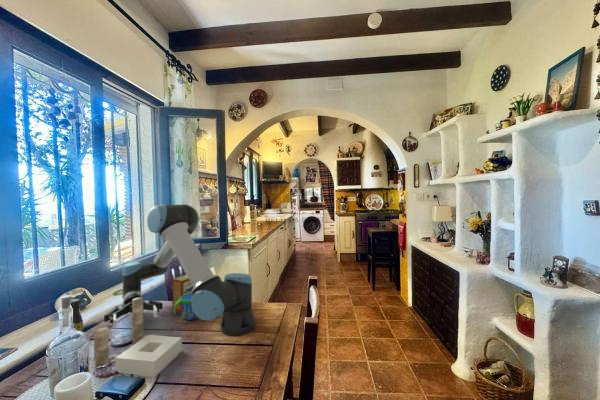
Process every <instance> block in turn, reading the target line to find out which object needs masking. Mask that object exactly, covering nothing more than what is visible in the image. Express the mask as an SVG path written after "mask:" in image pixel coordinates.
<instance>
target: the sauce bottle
mask: <svg viewBox="0 0 600 400" xmlns="http://www.w3.org/2000/svg"><path fill="white" fill-rule="evenodd" d="M70 300H71V306H72V308H73V323H74V328H75V329H76V330H78V331H81V332H83V333H84V321H83V317H82V314H81V313H80V304H81V299H80V298H74V299H73V298H72V299H70Z"/></svg>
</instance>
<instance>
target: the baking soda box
mask: <svg viewBox="0 0 600 400" xmlns="http://www.w3.org/2000/svg"><path fill="white" fill-rule="evenodd" d="M192 290H193V285H192V284H191V282H190V280H189V278H188V276H187V275H186V274H185V275H180V276H178V277H174V278H173V279H172V311H174V305H175V303H176V302H177V301H178V300H179V299H180V297H181V296H182V295H185V294H188V293H192ZM175 309H176V312H180V313H182V307H181V304H180V302H179V303H178V304H177V305H176V308H175Z"/></svg>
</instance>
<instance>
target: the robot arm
mask: <svg viewBox="0 0 600 400" xmlns="http://www.w3.org/2000/svg"><path fill="white" fill-rule="evenodd" d="M146 222H147V228H148V231H150V232H151V233H153V234H158V235H159V236H160V238H161V239H162V240H163V241H164V243H163V245H162V246H161V248H160V250H159V251H158V253H157V254H156V255H155V257H154V259H153V260H152V261H151V262H149V263H144V264H142V263H141V262H139V261H135V262H134V261H133V262H128V263H125V264H124V265H123V267H122V274H121V275H122V294H121V295H122V297H121V298H122V306H119V305H115V306H114V307H113V308H112V309H111V310H110V311H108V312H107V313H105V315H104V316H103V318H104V319H103V323H107V322H109V324H112V325H113V328H114V329H115V328H116V327H117V319H119V318H120V317H122V316H124V315H128V314H129V313H130V314H132V300H133V299H134V298H138V297H142V298H143V295H142V281H144V280H147V279H152V278H154V277H159V276H162V275H164V274H167V273H169V271H170V268H171V265H170V263H171V261H172V260H173V258H174V257H176V258H177V260H178V262H179V264H180V266H181V267H182V270H183V271H184V272H185V275H187V276H188V278H189V280H190V282H191V284H192V285H193V290H192V294H193V296H192V299H191V303H192V305H191V307H192V310H193V312H194V313H195V315H196V316H197V317H198V318H197V319H199V320H202V321H203V320H204V321H212V320H214V319H217V318H219V317H221V316H222V319H221V321H220V331H221V333H222V334H224V335H227V336H241V335H246V334H248V333H251V332H252V331H253V330H254V329H255V328H256V325H257V323H256V317H255V313H254V310H253V306H252V305H253V304H252V303H253V301H252V298H253V297H252V296H253V295H252V292H253V291H252V290H253V289H252V286H253V282H252V277H251V275H250V274H247V273H240V272H239V273H238V272H237V273H233V272H232V273H228V274H225V275H224V278H223V280H222V278H221V277H220V276H219V275H218V274H214V273H213V271H212V270H211V268H210V267H209V265H208V262H207V261H206V260H205V258H204V256H203V255H202V253H201V251H200V250H199V248H198V247H197V245H196V242H195V241H194V240H193V238H192V236H191V235H192V234H193V233H194V232H195V231H196V228H197V226H198V225H199V214H198V211H197V210H196V209H195V208H194V207H193V206H192V205H189V204H160V205H158V204H157V205H154V206H153V207H152V208H151V209H150V210H149V212H148V214H147V218H146ZM163 308H164V307H163V302H161V301H157V300H154V299H152V298H149V299H148V300H147V301H145V300H143V311H152V312H153V315H154V318H158V313H160V310H163Z"/></svg>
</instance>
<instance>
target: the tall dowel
mask: <svg viewBox="0 0 600 400" xmlns="http://www.w3.org/2000/svg"><path fill="white" fill-rule="evenodd" d="M143 301H144V297H143V296H142V297H138V298H134V299H133V300H132V313H131V314H132V315H131V317H132V321H131V322H132V331H131V332H132V333H131V335H132V338H131V339H132V344H131V346H133V345H134V344H136V343H137V342H138V341H140V340H141V339H143V338H144V310H143Z"/></svg>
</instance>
